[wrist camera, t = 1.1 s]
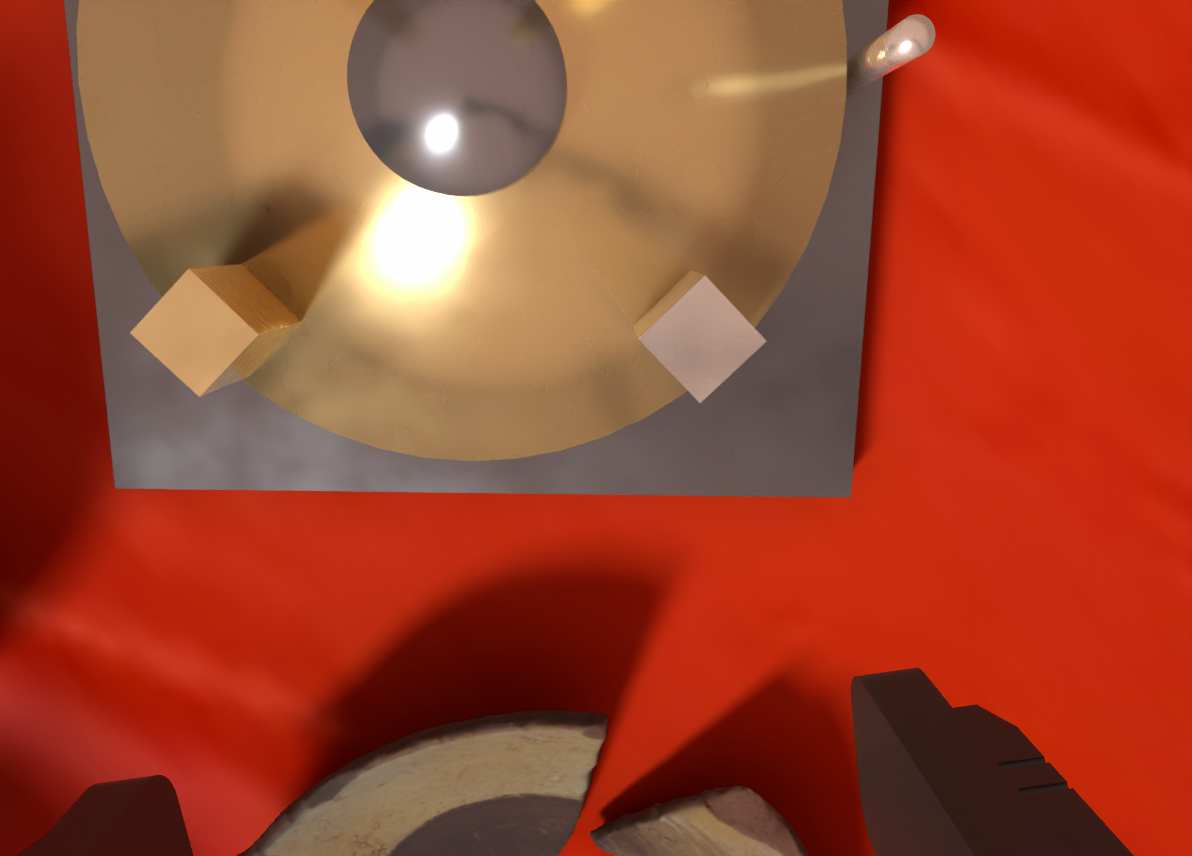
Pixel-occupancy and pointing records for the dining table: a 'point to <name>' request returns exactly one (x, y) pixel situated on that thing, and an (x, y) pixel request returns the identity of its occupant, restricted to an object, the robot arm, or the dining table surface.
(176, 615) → the dining table surface
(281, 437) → the base plate
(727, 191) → the round brass tray
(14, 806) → the dining table surface
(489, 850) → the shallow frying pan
